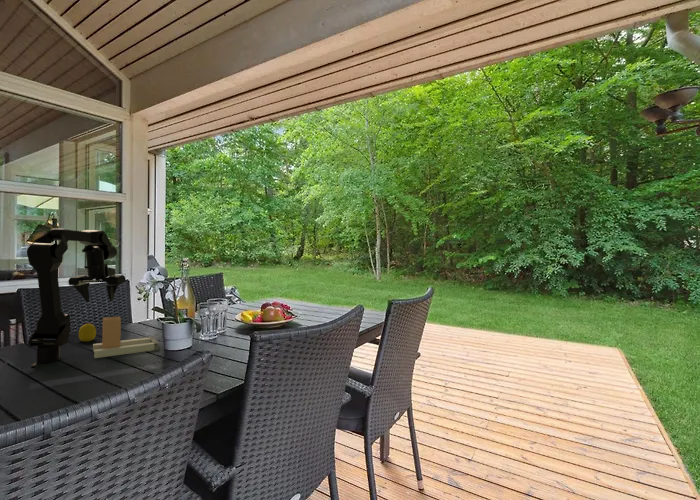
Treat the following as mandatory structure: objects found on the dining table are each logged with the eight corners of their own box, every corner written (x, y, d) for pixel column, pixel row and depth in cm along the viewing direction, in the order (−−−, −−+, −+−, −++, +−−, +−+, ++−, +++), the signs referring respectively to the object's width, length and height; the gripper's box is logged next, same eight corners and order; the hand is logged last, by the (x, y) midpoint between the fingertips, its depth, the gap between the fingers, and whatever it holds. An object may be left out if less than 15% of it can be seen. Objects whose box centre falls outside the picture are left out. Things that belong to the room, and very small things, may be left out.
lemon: (88, 345, 136) (89, 324, 136) (74, 345, 137) (75, 324, 136) (99, 341, 142) (99, 321, 142) (85, 340, 142) (86, 320, 142)
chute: (94, 361, 120) (94, 351, 120) (92, 353, 128) (93, 344, 128) (158, 352, 132) (158, 343, 132) (153, 345, 140) (153, 336, 140)
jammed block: (102, 355, 124) (103, 320, 123) (102, 351, 128) (102, 317, 127) (120, 352, 127) (121, 319, 126) (118, 348, 131) (119, 316, 130)
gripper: (132, 258, 147) (135, 295, 149) (86, 259, 147) (90, 296, 149) (114, 263, 136) (118, 303, 138) (65, 263, 136) (69, 303, 138)
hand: (99, 301), depth 141 cm, fingers open, 9 cm apart
